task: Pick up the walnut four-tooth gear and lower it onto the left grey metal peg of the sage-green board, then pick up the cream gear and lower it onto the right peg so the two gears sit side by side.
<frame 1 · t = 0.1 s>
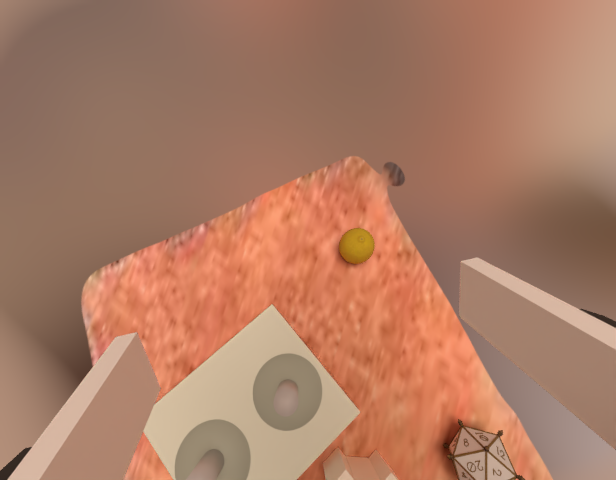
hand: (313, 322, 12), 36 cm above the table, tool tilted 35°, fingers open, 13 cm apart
lemon: (351, 252, 50), on the table
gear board: (252, 412, 42), on the table
game die: (462, 448, 42), on the table
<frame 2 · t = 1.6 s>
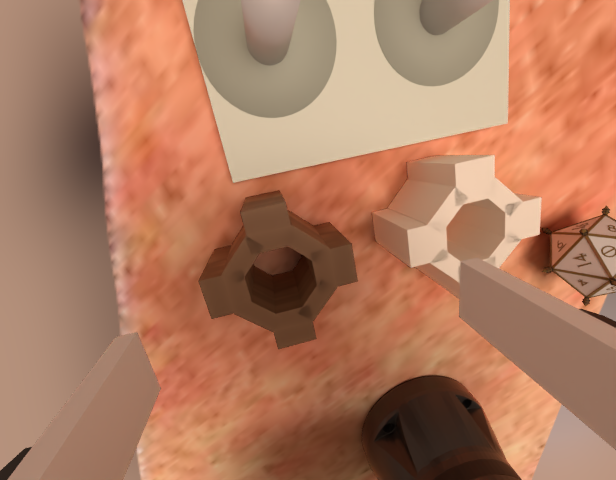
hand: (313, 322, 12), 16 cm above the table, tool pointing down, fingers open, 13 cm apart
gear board: (351, 22, 23), on the table
game die: (554, 244, 32), on the table
cream gear: (425, 214, 28), on the table
walnut gear: (276, 250, 27), on the table
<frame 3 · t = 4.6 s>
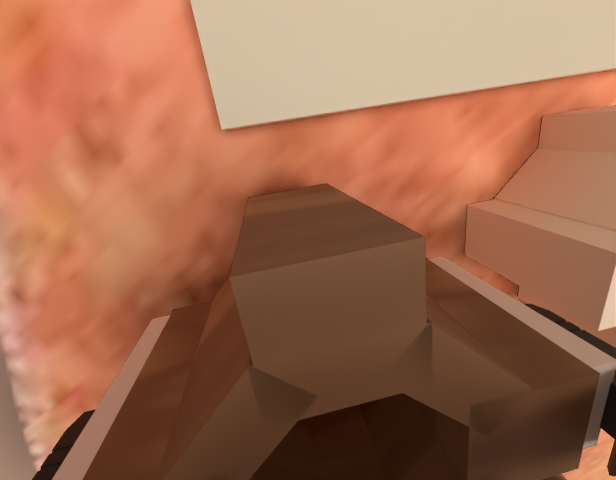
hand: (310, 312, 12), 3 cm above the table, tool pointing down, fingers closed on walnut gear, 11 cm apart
cream gear: (552, 212, 17), on the table
walnut gear: (309, 311, 13), point 3 cm above the table, touching gripper
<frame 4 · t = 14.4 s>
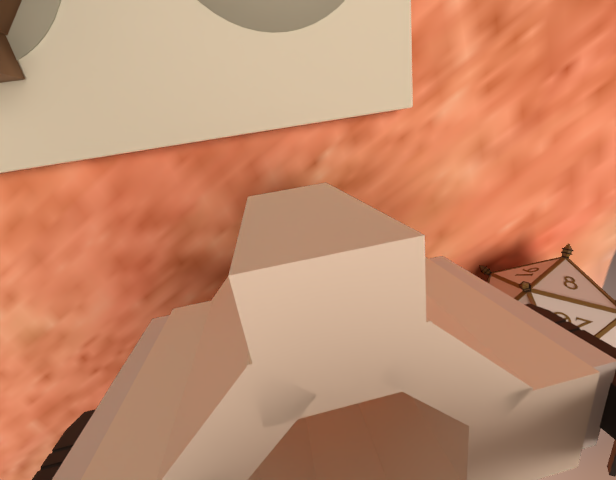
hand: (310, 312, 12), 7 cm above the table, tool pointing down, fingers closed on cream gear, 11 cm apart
game die: (497, 286, 23), on the table
cream gear: (309, 310, 13), point 7 cm above the table, touching gripper
when the fingers open (3 cm above the table, at t = 18.7 s): cream gear drops 1 cm, resting on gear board.
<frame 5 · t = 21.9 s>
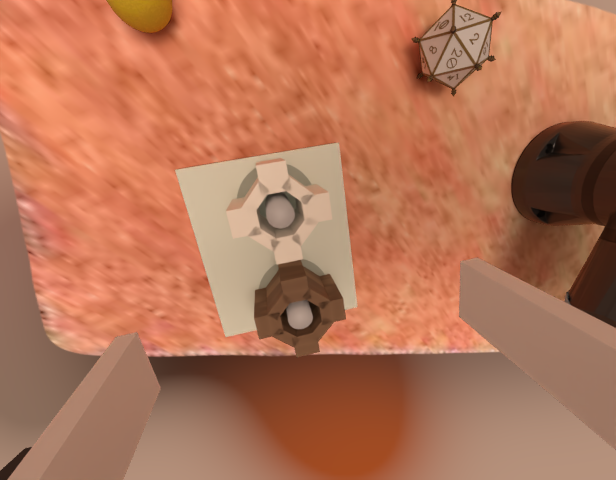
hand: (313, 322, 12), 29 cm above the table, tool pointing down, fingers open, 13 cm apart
lemon: (154, 14, 31), on the table
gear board: (277, 242, 40), on the table
game die: (432, 59, 36), on the table
cream gear: (277, 203, 37), point 2 cm above the table, touching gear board
walnut gear: (294, 291, 41), point 2 cm above the table, touching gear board
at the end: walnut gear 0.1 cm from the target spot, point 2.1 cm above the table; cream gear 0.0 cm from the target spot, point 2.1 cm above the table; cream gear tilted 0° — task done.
